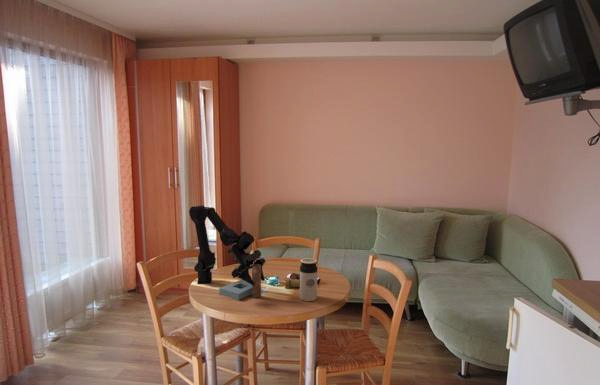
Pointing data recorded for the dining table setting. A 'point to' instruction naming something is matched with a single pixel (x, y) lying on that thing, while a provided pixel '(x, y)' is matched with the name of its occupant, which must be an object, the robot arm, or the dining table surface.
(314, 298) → the travel mug
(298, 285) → the gavel
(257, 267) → the peg
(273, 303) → the dining table surface
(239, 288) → the socket board
